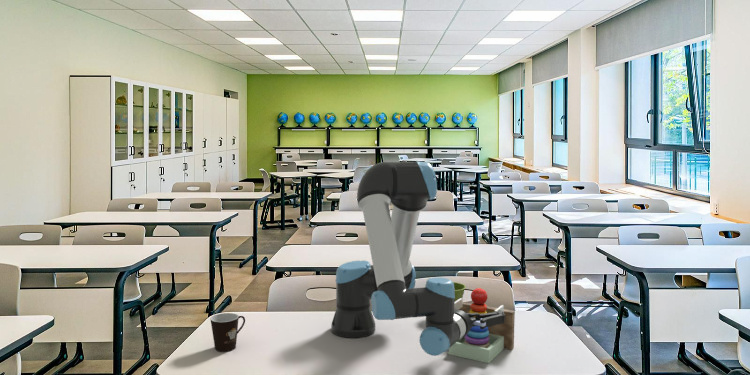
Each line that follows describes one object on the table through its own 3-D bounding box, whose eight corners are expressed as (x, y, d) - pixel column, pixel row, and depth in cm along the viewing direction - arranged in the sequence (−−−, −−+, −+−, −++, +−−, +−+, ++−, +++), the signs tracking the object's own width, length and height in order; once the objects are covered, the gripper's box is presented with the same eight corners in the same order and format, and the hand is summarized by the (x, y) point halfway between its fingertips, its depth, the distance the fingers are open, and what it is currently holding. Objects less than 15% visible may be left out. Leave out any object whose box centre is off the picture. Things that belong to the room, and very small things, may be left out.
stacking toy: (484, 354, 172) (486, 293, 170) (459, 349, 176) (461, 289, 174) (493, 345, 179) (494, 287, 177) (469, 341, 183) (470, 284, 181)
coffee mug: (214, 355, 174) (213, 323, 173) (208, 345, 182) (207, 315, 181) (252, 348, 179) (251, 317, 178) (244, 339, 187) (244, 310, 186)
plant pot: (447, 308, 219) (447, 279, 218) (472, 315, 210) (472, 286, 209) (426, 315, 211) (426, 285, 210) (451, 323, 202) (451, 292, 201)
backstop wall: (458, 338, 188) (458, 303, 186) (460, 336, 189) (461, 301, 188) (511, 349, 178) (512, 312, 177) (513, 347, 180) (514, 310, 179)
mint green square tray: (448, 354, 175) (448, 341, 174) (464, 340, 186) (465, 328, 185) (489, 363, 168) (489, 350, 168) (503, 348, 179) (503, 336, 179)
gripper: (415, 330, 168) (445, 310, 186) (496, 347, 155) (520, 324, 173) (415, 305, 167) (445, 288, 185) (497, 320, 154) (521, 300, 172)
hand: (481, 305), depth 179 cm, fingers open, 13 cm apart
